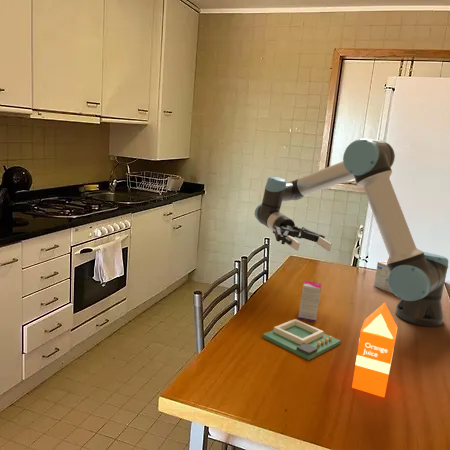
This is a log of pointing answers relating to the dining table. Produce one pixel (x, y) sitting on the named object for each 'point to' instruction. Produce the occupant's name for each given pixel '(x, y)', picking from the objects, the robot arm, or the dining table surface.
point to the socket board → (301, 339)
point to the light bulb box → (382, 276)
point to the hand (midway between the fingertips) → (314, 247)
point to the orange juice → (375, 352)
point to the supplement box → (309, 301)
